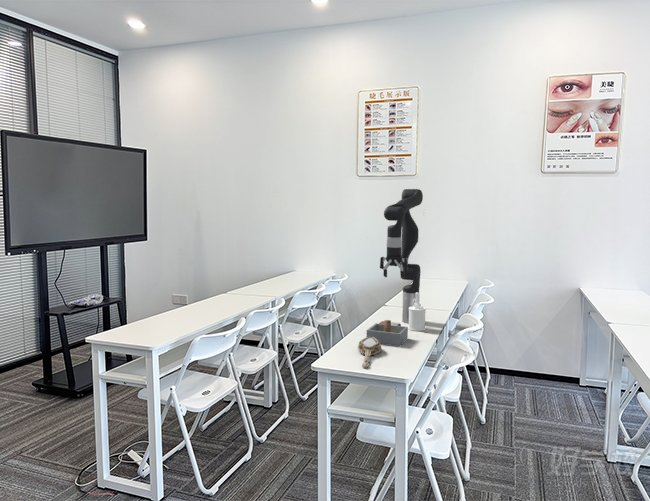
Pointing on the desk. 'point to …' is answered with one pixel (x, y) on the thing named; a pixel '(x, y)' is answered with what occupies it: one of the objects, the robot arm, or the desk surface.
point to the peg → (387, 325)
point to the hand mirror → (369, 349)
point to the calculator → (392, 323)
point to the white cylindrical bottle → (416, 315)
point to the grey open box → (388, 334)
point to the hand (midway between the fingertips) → (393, 277)
